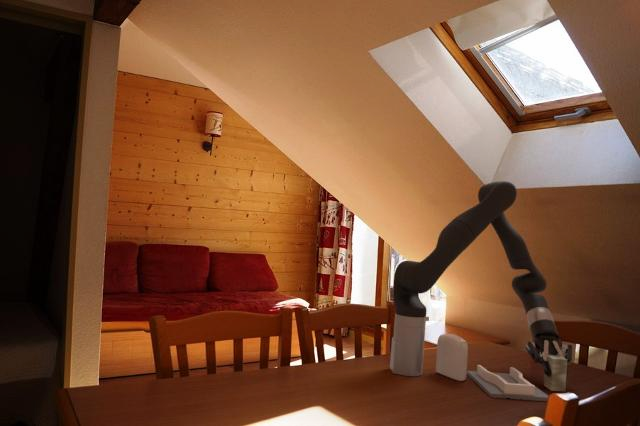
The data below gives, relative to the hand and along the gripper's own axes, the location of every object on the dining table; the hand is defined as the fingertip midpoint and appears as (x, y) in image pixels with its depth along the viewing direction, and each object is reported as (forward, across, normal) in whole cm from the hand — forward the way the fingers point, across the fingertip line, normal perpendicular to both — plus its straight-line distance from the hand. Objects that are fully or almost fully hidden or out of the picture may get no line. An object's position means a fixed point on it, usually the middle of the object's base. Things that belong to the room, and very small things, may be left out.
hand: (557, 375), depth 151 cm
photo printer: (-2, -29, +8) cm, 30 cm away
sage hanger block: (+2, 0, +4) cm, 4 cm away
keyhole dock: (+3, -15, +2) cm, 16 cm away
